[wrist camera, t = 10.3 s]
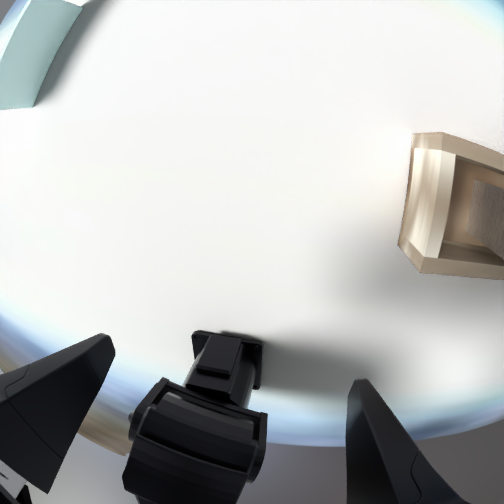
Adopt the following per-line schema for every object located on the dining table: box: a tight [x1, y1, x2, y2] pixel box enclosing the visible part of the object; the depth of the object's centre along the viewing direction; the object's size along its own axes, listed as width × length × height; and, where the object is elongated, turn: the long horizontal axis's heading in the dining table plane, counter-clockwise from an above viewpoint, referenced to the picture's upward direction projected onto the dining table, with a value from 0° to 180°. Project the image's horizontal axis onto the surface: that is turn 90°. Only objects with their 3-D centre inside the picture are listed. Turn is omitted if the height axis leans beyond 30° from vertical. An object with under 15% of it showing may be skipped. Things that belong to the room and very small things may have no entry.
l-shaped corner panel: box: [0, 0, 83, 110], centre depth 12 cm, size 12×12×8 cm
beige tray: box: [398, 132, 504, 280], centre depth 13 cm, size 8×15×4 cm, turn 88°
